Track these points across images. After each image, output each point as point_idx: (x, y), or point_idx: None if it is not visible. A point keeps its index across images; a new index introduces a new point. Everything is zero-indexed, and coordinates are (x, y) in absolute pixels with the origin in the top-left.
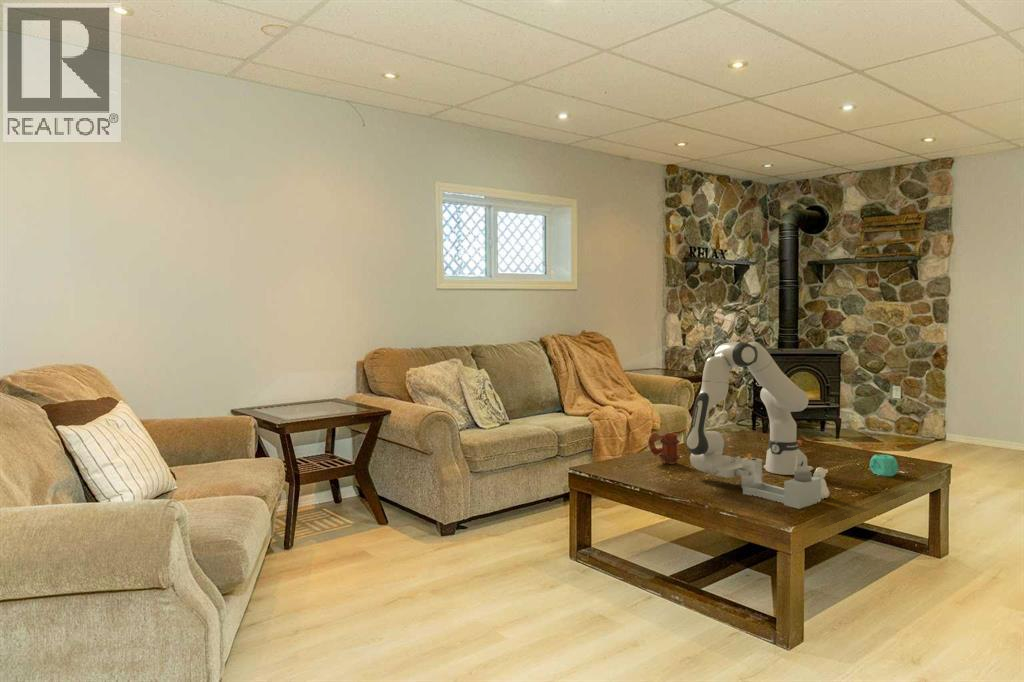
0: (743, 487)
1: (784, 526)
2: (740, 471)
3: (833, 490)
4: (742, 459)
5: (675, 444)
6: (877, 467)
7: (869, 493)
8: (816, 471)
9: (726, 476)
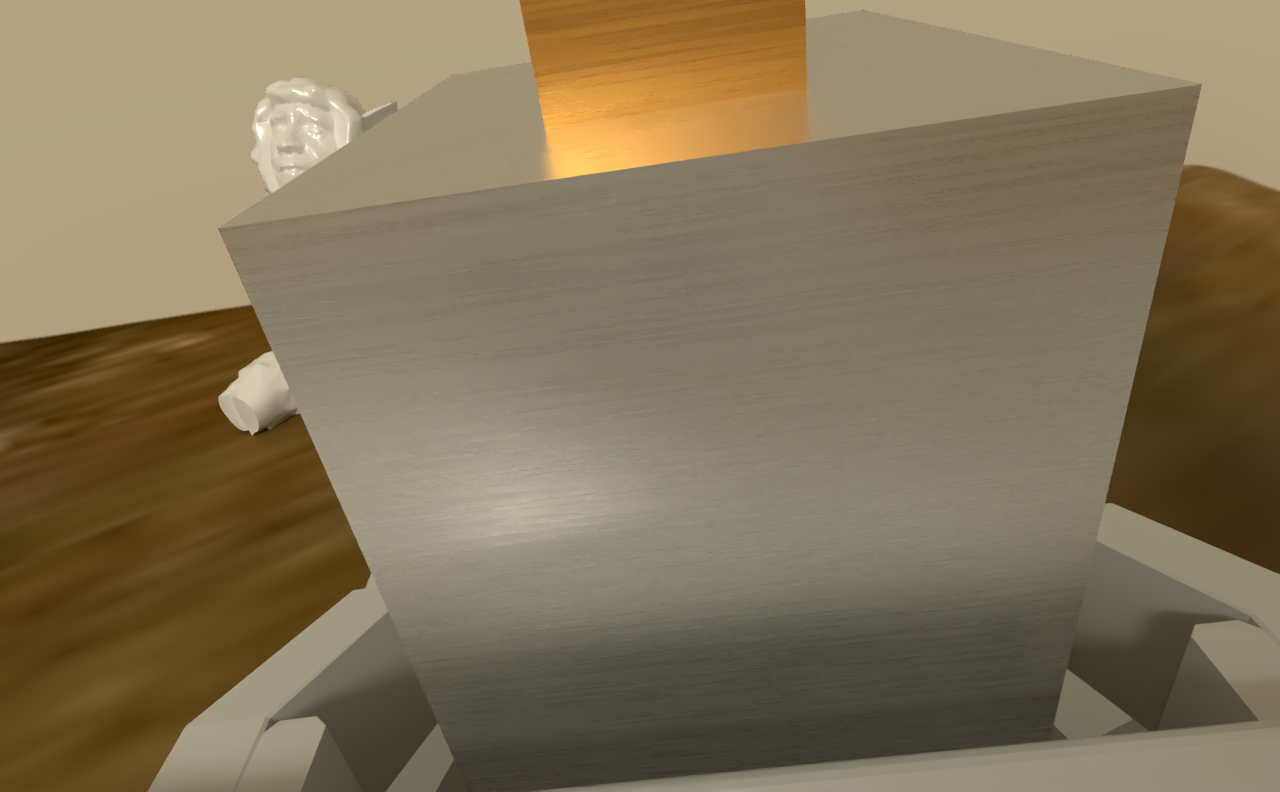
0: (1131, 718)
1: (1210, 169)
2: (1248, 586)
3: (74, 430)
4: (1145, 139)
5: None
6: None
7: (82, 338)
8: (354, 113)
9: None
